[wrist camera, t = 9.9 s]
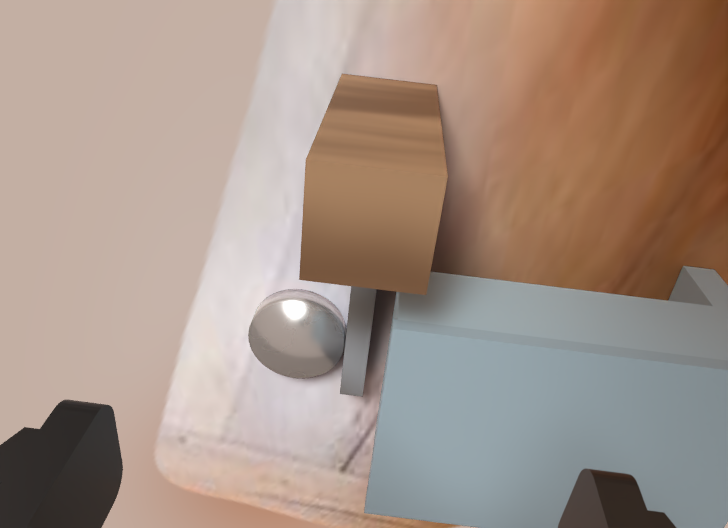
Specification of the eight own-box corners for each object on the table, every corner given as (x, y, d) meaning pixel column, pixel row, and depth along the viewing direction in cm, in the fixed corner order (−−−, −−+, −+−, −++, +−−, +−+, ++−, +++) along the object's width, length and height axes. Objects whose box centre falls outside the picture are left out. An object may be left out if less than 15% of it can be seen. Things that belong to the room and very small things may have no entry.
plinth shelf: (397, 227, 29) (392, 328, 22) (720, 266, 29) (816, 381, 22) (374, 389, 34) (364, 513, 28) (646, 424, 34) (705, 556, 27)
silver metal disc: (254, 280, 32) (248, 295, 30) (350, 292, 32) (347, 308, 30) (254, 355, 34) (248, 372, 33) (342, 366, 34) (340, 383, 33)
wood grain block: (342, 73, 26) (306, 160, 17) (436, 84, 26) (448, 177, 17) (318, 365, 34) (286, 522, 25) (390, 374, 34) (382, 534, 25)
